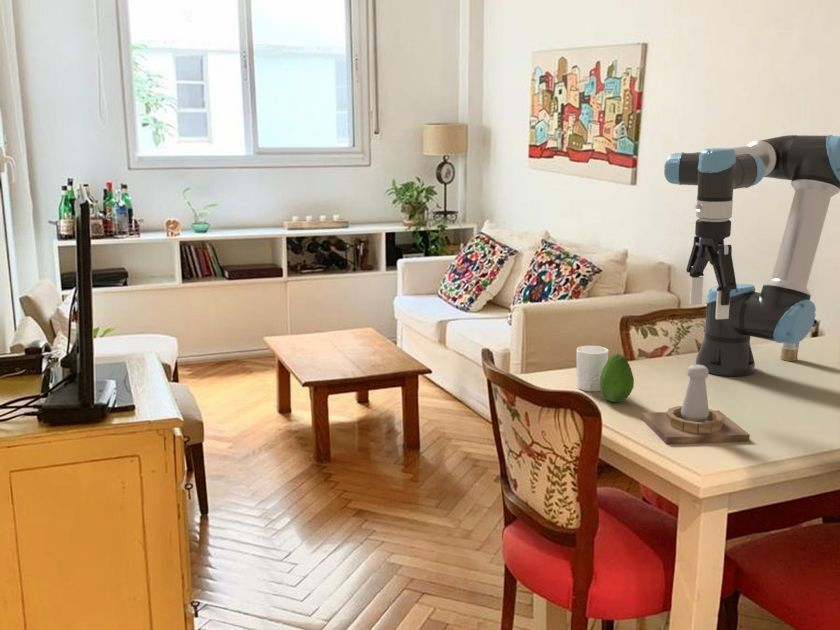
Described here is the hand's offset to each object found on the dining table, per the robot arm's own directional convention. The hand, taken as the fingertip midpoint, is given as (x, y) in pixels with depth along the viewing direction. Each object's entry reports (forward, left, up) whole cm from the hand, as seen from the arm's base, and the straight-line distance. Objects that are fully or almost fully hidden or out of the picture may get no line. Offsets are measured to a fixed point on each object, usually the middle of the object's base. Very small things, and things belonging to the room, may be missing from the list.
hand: (708, 311), depth 191 cm
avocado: (+19, -6, -23) cm, 30 cm away
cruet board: (+8, +14, -23) cm, 28 cm away
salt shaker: (+8, +14, -22) cm, 27 cm away
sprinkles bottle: (-41, -37, -23) cm, 60 cm away
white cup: (+22, -17, -23) cm, 36 cm away
